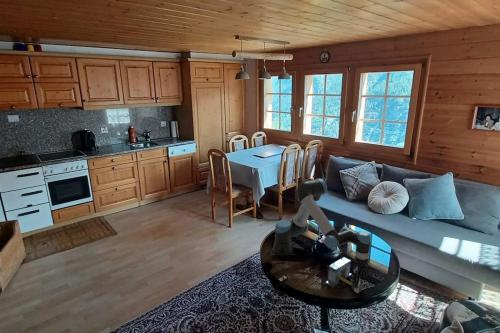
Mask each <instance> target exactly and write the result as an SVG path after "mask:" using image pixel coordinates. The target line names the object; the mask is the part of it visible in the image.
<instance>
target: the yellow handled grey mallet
mask: <svg viewBox="0 0 500 333" xmlns="http://www.w3.org/2000/svg"><path fill="white" fill-rule="evenodd" d="M340 280H341V281H342V282H344V283H346V284H347V285H349V286H351V290H353V291H354V286H355V284H354V283H353V279H352V281H350V280H348V279H347V278H346V279H345V278H343V277H341V276H339V281H340ZM362 289H363V290H364V284H363V282H362V281H361V280H359V293H362V291H363V290H362ZM359 293H358V294H359Z"/></svg>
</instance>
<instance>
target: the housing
mask: <svg viewBox="0 0 500 333" xmlns="http://www.w3.org/2000/svg"><path fill="white" fill-rule="evenodd" d="M351 263H352V262H351V259H350V258H348V257H345V256H343V257H342V258H340V259H338V260H336V261H335V262H333V263H331V264H330V265H329V266H328V277H327V278H328V280H327V281H325V284H326V285H328V286H330V287H331V288H335V287H336V286H337V285H339V284H340V279H339V276H341V277H343V278H344V279H346V280H347V279H348V278H349V277H351V276H353V273H350V271H351Z"/></svg>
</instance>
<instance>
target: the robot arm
mask: <svg viewBox="0 0 500 333" xmlns="http://www.w3.org/2000/svg"><path fill="white" fill-rule="evenodd" d="M327 192H328V185H327V183H326V181H325V180H324V179H322V178H314V179H310V180H309V179H308V180H306V181H305V180H304V181H302V182H300V183H299V184H298V186H297V188H296V197H297V199H298V201H299V203H300V205H299V209H298V211H297V213H296V215H294V216H293V217H292V219H291V220H287V219H286V220H279V221H277V222H276V223H275V225H274V230H275V231H274V234H275V235H274V238H275V239H274V243H273V246H272V252H273V253H274V254H275V255H276V256H281V257H286V256H289V255H291V254H292V253H293V246H292V242H291V238H293V237H296V236H298V235H302V234H305V233H307V231H308V230H309V223H308V219H309V216H311V218H312V220H313V222H315V224H316V226H317V227H318V228H319V230H320V231H321V233H322V234H323V236H324V239H323V240H324V243H325V246H326V247H327V248H328V249H335V248H339V247H340V246H343V245H345V244H348V243H351V244H353V245H355V252H354V253H355V254H354V255H355V256H354V262H355V268H352V280H353V283H354V284H355V286H354V290H353V292H355V293H356V294H359V280H361V281H362V282H363V285H364V281H366V280H367V275H368V267H369V257H370V247H371V242H372V240H371V238H372V236H371V234H370V232H368V231H365V230H360V231H356V230H355V229H352V228H350V227H348V226H343V227H342V228H340V230H339V232H337V230H336V229H335V227H334V226H333V224H332V223H331V221H330V220H329V219H328V217H327V216H326V215H325V213H324V211H323V210H322V209H321V207H320V206H319V204H318V203H317V202H318V201H320V200H321V197H322V196H323V195H325V194H327ZM363 290H364V288H363V289H362V291H363Z"/></svg>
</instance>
